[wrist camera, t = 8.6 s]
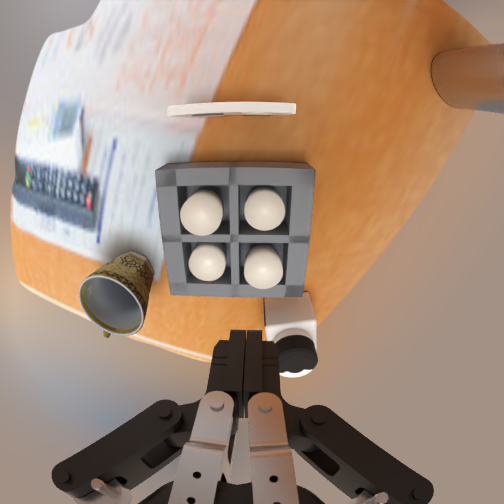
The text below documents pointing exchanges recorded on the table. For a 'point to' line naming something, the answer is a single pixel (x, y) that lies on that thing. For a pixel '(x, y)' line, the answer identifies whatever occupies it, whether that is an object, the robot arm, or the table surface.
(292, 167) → the board
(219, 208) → the button
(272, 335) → the medicine bottle
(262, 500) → the robot arm
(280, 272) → the button
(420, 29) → the table surface
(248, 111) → the card
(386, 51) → the table surface
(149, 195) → the table surface
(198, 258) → the button
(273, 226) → the button
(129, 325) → the ceramic cup
